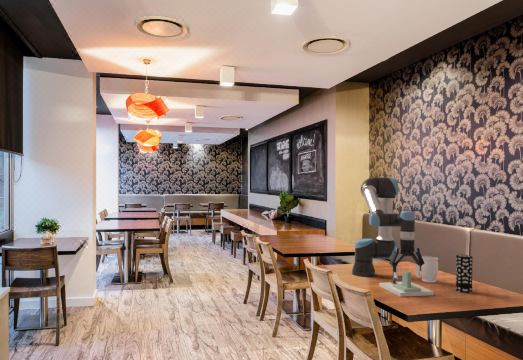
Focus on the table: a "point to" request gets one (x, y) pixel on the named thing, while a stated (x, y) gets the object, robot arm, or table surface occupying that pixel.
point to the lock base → (400, 293)
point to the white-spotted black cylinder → (464, 273)
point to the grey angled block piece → (396, 278)
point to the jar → (429, 269)
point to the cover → (406, 283)
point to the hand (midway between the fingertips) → (406, 277)
